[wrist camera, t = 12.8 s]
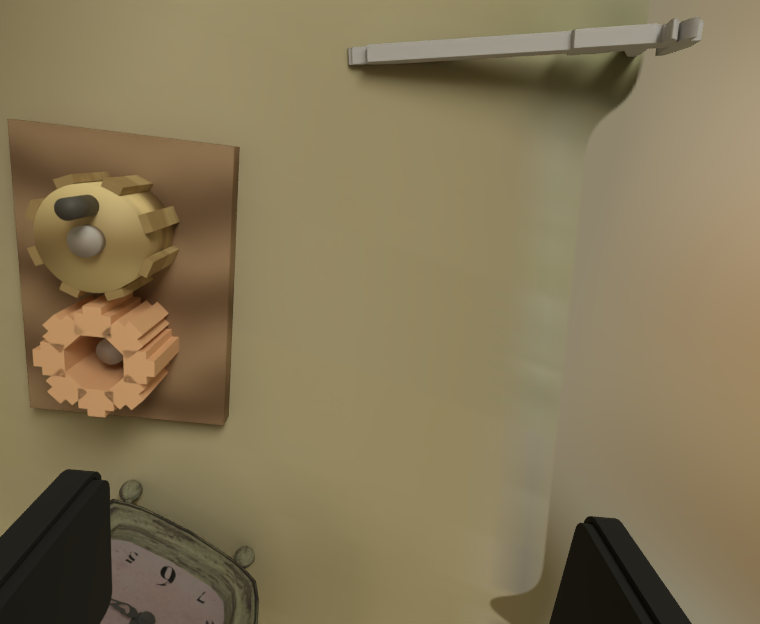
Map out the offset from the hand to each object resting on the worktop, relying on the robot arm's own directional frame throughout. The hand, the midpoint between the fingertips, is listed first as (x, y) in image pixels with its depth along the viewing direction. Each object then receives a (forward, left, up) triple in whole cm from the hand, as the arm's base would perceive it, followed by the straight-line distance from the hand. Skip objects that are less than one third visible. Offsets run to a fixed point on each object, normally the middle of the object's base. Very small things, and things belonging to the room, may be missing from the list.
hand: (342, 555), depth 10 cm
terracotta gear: (+7, -16, -27) cm, 32 cm away
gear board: (+3, -16, -28) cm, 33 cm away
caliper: (-15, +8, -29) cm, 33 cm away
